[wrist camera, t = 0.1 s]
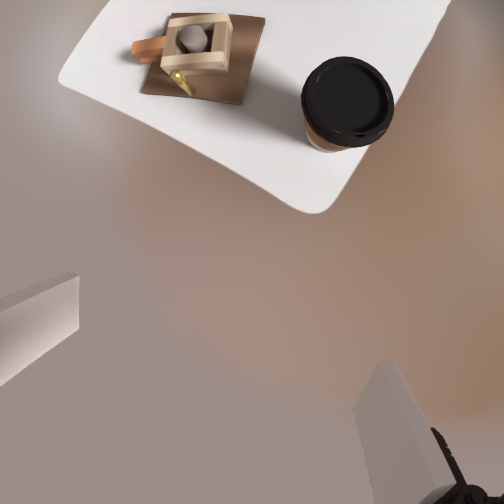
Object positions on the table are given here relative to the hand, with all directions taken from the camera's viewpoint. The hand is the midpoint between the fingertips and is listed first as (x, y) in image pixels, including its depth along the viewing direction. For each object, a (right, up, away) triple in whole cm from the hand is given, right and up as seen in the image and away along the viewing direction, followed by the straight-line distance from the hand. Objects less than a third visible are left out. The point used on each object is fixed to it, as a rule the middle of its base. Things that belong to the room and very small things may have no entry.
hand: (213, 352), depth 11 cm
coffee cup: (+11, +19, +24) cm, 33 cm away
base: (-5, +32, +23) cm, 40 cm away
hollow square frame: (-8, +32, +22) cm, 39 cm away
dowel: (-6, +25, +23) cm, 35 cm away
